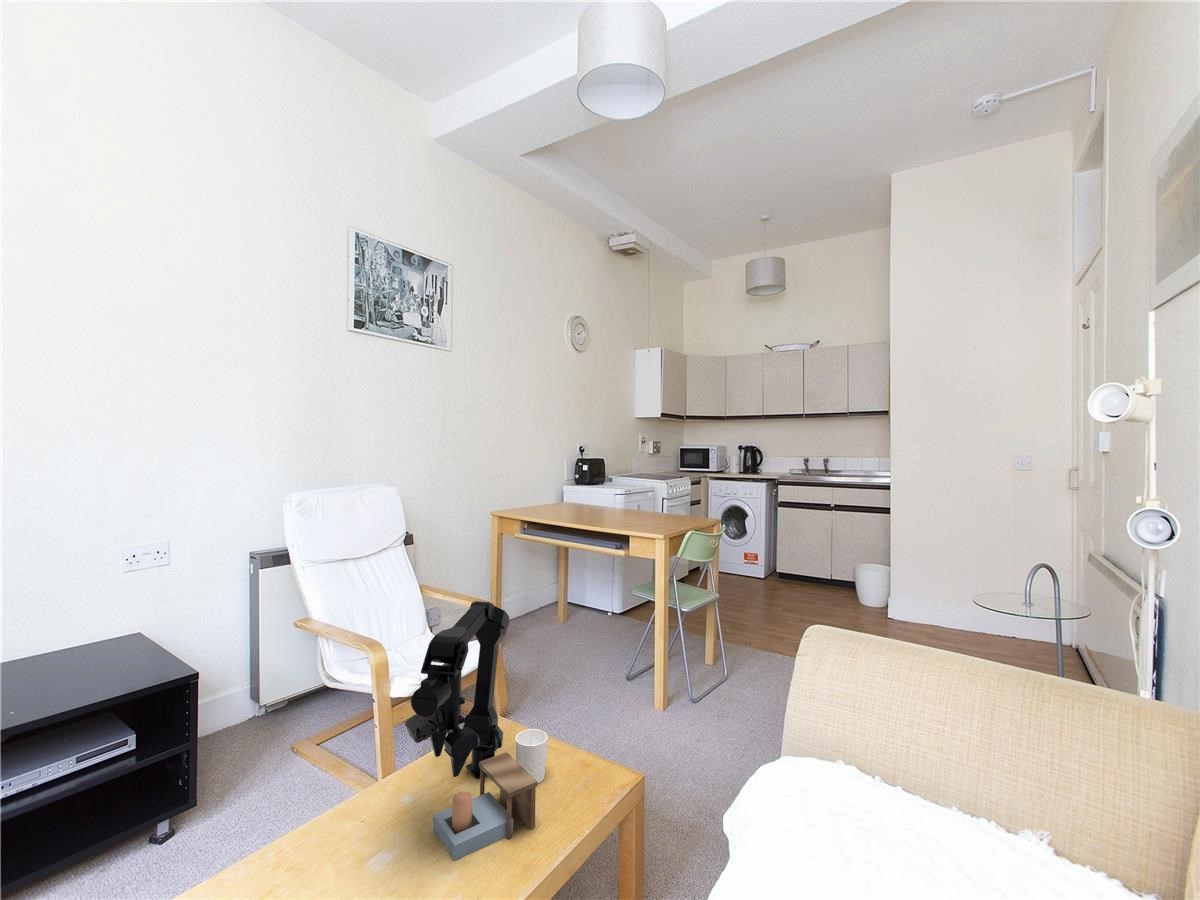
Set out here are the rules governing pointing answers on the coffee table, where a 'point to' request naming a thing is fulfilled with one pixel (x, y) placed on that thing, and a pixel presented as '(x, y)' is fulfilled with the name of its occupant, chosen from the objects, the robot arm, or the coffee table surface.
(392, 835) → the coffee table surface
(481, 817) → the socket block
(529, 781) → the brown wooden table shape
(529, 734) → the white cup
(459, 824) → the peg
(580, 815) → the coffee table surface
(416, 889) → the coffee table surface
